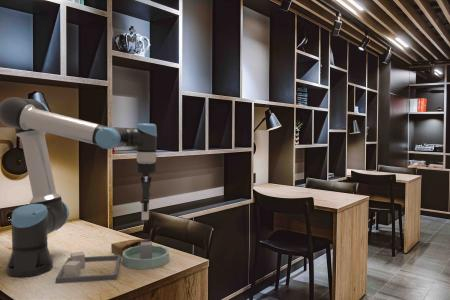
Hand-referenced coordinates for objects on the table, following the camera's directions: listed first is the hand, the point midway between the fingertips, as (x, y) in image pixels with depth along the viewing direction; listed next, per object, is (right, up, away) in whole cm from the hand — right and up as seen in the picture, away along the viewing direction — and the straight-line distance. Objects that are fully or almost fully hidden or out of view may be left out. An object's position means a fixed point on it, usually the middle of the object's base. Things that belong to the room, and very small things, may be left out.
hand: (145, 215), depth 151 cm
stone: (-9, -18, +12) cm, 23 cm away
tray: (-18, -19, -10) cm, 28 cm away
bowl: (0, -18, +1) cm, 18 cm away
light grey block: (-22, -19, -16) cm, 34 cm away
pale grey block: (-24, -18, -6) cm, 31 cm away
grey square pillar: (0, -17, +1) cm, 17 cm away
